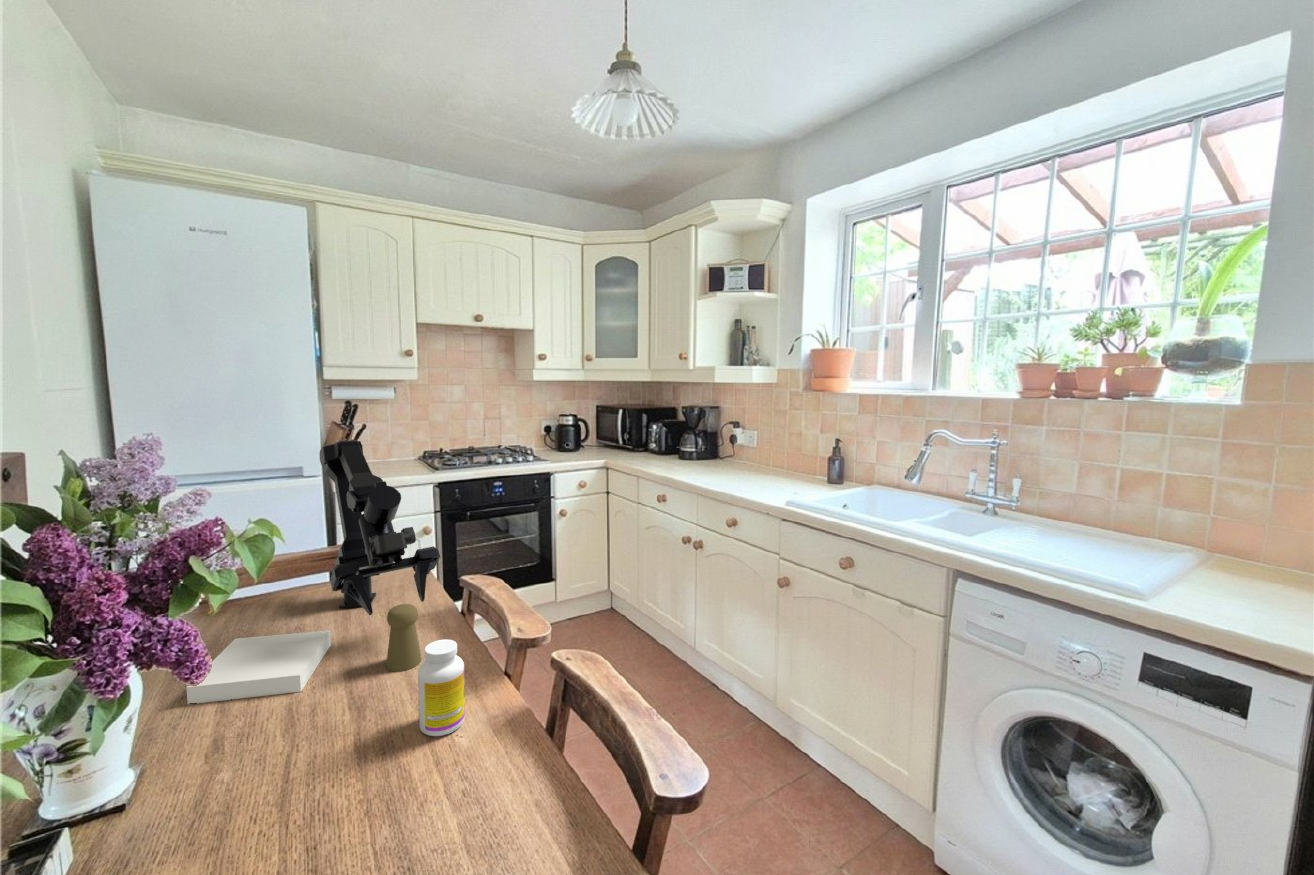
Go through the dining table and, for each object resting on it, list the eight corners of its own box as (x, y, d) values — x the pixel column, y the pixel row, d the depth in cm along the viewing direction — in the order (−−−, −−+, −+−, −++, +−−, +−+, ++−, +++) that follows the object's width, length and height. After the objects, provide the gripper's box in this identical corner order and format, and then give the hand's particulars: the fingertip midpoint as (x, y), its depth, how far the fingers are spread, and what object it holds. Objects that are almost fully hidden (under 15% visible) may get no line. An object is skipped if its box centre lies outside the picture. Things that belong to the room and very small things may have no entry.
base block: (236, 653, 101) (235, 638, 101) (331, 644, 105) (330, 630, 105) (187, 704, 86) (186, 687, 85) (300, 691, 90) (300, 675, 90)
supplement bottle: (472, 724, 83) (472, 647, 82) (431, 745, 79) (429, 663, 77) (452, 705, 88) (451, 631, 86) (412, 723, 83) (410, 646, 82)
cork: (427, 655, 103) (426, 601, 101) (410, 673, 97) (408, 615, 95) (398, 653, 103) (396, 599, 102) (378, 670, 97) (376, 613, 96)
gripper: (331, 523, 96) (348, 601, 90) (435, 508, 109) (458, 575, 102) (324, 553, 103) (339, 628, 96) (423, 536, 116) (443, 601, 109)
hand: (397, 607), depth 101 cm, fingers open, 9 cm apart
